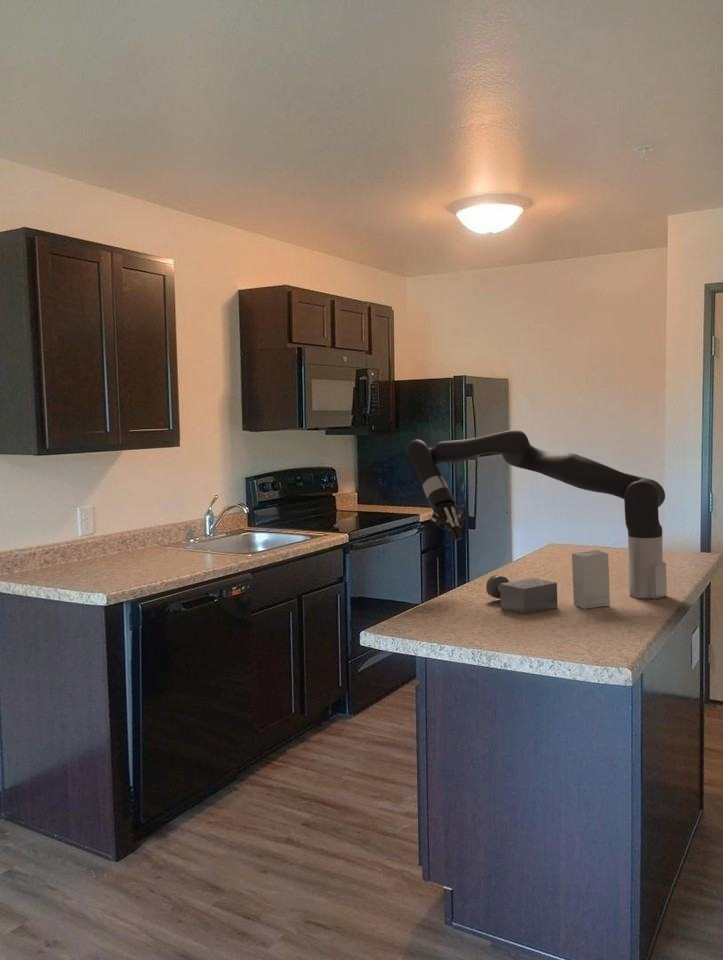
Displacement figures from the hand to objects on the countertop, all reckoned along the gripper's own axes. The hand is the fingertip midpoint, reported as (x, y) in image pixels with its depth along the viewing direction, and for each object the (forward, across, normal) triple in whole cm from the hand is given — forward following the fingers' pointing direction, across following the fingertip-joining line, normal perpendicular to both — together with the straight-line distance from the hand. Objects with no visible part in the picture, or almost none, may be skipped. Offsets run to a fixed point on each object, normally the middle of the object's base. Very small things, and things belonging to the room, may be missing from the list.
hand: (459, 538), depth 239 cm
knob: (+25, -2, +6) cm, 26 cm away
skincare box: (+37, -18, +18) cm, 45 cm away
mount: (+31, -3, +12) cm, 34 cm away
